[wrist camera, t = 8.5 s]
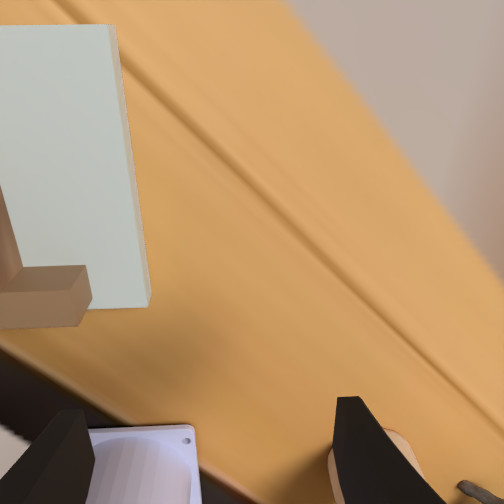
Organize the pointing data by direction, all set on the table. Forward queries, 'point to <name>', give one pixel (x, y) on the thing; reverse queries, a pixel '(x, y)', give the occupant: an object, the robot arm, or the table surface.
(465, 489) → the dog figurine
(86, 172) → the wall board
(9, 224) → the cabinet block
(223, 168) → the table surface
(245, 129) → the table surface
